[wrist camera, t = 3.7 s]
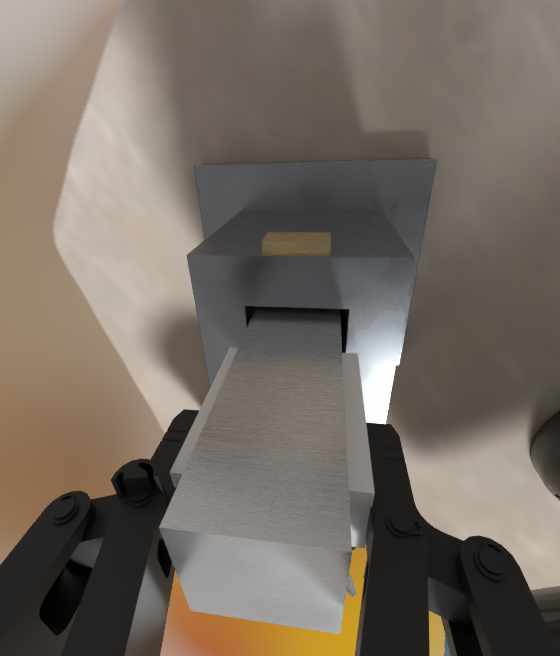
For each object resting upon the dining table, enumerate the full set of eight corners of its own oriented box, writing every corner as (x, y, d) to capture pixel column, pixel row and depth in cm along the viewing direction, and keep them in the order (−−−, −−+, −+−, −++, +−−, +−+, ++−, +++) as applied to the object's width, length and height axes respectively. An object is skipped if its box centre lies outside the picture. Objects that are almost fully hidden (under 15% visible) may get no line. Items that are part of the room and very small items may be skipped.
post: (338, 252, 24) (357, 550, 7) (335, 307, 26) (343, 636, 9) (278, 252, 24) (153, 524, 7) (280, 305, 27) (187, 611, 9)
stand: (430, 158, 22) (516, 177, 12) (396, 354, 30) (429, 467, 20) (202, 164, 24) (107, 185, 14) (226, 346, 32) (177, 445, 22)
